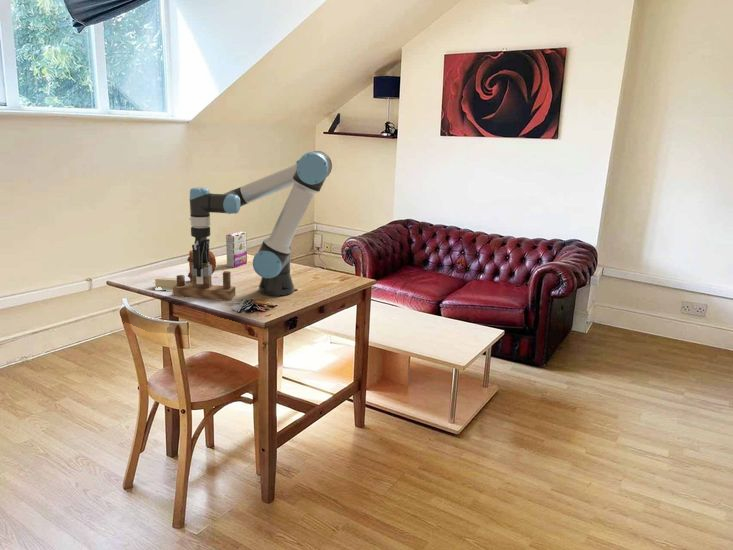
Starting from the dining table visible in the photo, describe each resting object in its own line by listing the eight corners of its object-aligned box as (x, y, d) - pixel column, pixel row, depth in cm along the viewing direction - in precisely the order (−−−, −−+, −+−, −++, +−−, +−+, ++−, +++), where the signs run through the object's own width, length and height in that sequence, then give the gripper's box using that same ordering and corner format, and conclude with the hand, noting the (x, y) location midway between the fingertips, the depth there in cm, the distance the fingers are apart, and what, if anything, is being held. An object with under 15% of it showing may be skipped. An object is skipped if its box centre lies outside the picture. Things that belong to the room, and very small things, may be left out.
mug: (183, 281, 255) (182, 249, 251) (196, 278, 262) (195, 246, 258) (208, 287, 248) (207, 254, 244) (221, 283, 255) (220, 250, 251)
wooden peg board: (235, 295, 239) (235, 270, 236) (230, 300, 232) (229, 274, 229) (179, 291, 240) (179, 266, 237) (173, 296, 233) (172, 270, 231)
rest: (184, 285, 250) (183, 276, 248) (174, 291, 240) (174, 282, 239) (162, 283, 250) (161, 275, 249) (151, 290, 241) (151, 281, 240)
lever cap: (212, 274, 236) (211, 262, 234) (208, 276, 231) (208, 265, 230) (195, 272, 236) (195, 261, 235) (191, 275, 232) (191, 264, 231)
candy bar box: (239, 262, 294) (238, 231, 290) (247, 263, 292) (247, 232, 288) (226, 266, 284) (225, 234, 280) (234, 268, 282) (234, 235, 278)
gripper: (199, 222, 237) (201, 276, 243) (182, 229, 220) (185, 287, 226) (216, 223, 237) (218, 277, 243) (201, 230, 220) (203, 288, 226)
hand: (202, 282), depth 235 cm, fingers closed on lever cap, 4 cm apart
